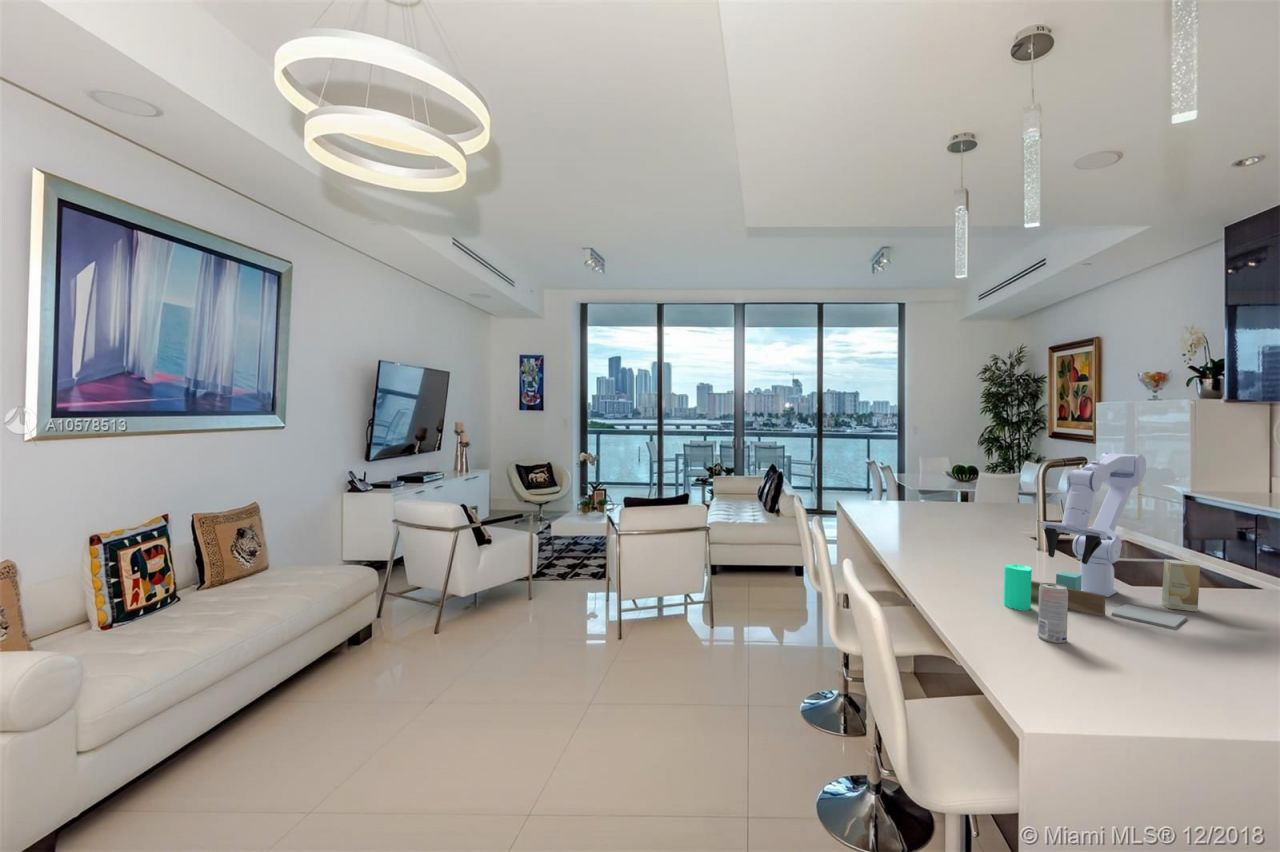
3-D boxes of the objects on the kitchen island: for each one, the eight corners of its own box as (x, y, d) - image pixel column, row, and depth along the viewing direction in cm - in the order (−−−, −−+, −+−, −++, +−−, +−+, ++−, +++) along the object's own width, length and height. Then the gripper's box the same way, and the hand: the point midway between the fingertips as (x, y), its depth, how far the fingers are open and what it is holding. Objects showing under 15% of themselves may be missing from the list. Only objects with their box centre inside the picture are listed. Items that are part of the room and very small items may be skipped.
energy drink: (1062, 636, 134) (1063, 583, 134) (1070, 645, 129) (1071, 590, 129) (1034, 633, 136) (1035, 581, 136) (1041, 641, 131) (1043, 587, 131)
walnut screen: (1016, 595, 165) (1017, 577, 165) (1105, 615, 149) (1105, 595, 149) (1014, 596, 164) (1014, 578, 164) (1103, 616, 148) (1103, 596, 148)
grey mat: (1125, 606, 156) (1125, 604, 156) (1186, 619, 147) (1186, 616, 147) (1111, 615, 149) (1111, 612, 149) (1174, 629, 139) (1174, 626, 139)
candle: (1022, 603, 158) (1023, 558, 158) (1035, 610, 152) (1036, 564, 152) (999, 602, 158) (1000, 557, 158) (1010, 609, 152) (1011, 563, 152)
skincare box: (1168, 609, 154) (1169, 562, 154) (1160, 604, 158) (1162, 558, 158) (1199, 612, 152) (1201, 565, 152) (1191, 607, 156) (1192, 561, 156)
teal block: (1061, 596, 165) (1062, 571, 164) (1080, 600, 161) (1081, 575, 161) (1055, 599, 162) (1056, 573, 162) (1075, 603, 158) (1075, 577, 158)
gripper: (1042, 503, 165) (1031, 549, 163) (1105, 512, 154) (1095, 562, 151) (1050, 510, 170) (1040, 556, 167) (1113, 520, 158) (1103, 569, 155)
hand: (1067, 559), depth 160 cm, fingers open, 7 cm apart
